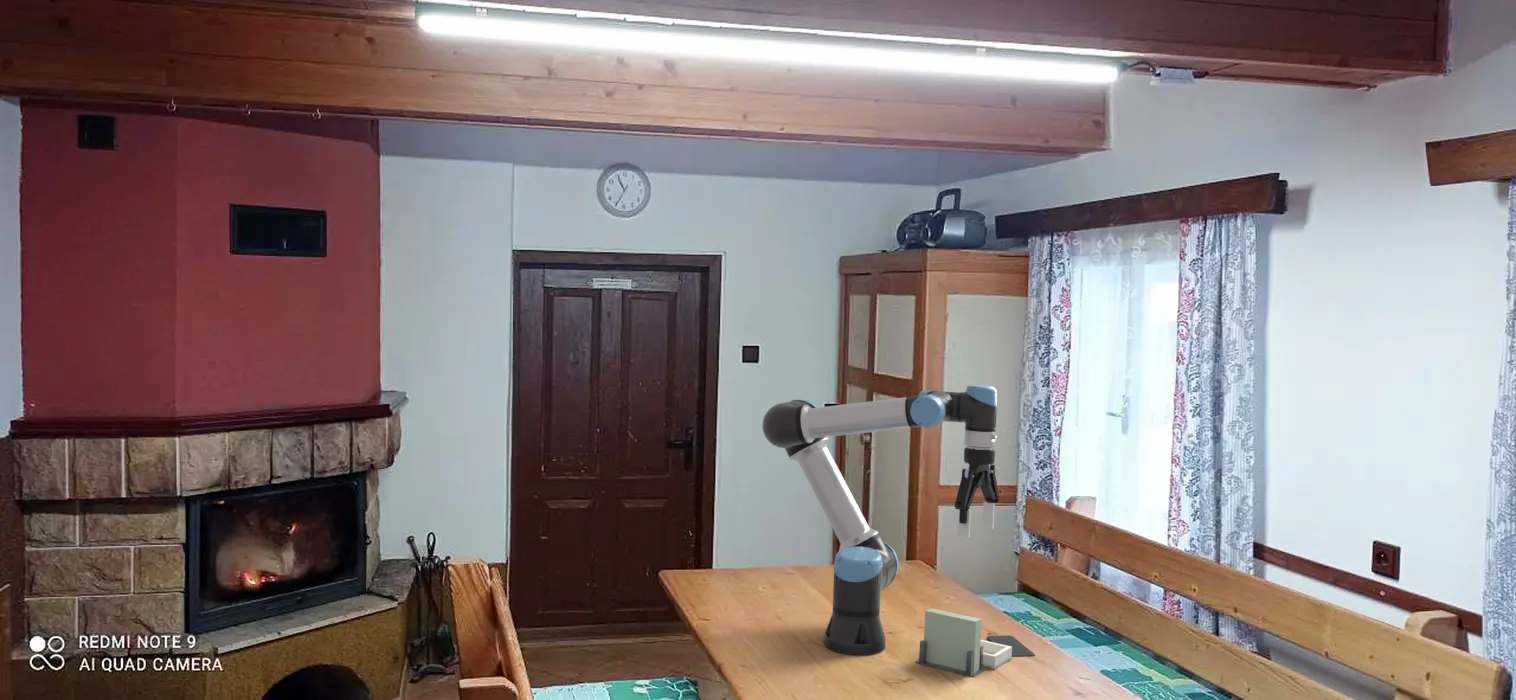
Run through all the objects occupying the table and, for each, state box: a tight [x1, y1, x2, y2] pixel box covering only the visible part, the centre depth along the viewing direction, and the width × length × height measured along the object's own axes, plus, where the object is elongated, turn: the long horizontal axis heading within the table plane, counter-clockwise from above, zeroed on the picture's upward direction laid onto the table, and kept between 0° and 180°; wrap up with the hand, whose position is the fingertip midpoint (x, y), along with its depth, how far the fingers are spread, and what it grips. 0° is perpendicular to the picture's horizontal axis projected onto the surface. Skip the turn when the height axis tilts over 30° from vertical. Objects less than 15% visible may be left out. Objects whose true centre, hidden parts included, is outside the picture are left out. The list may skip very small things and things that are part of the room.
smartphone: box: [986, 634, 1036, 658], centre depth 276 cm, size 7×1×15 cm
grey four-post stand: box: [914, 639, 987, 678], centre depth 259 cm, size 15×7×5 cm, turn 55°
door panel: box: [923, 608, 982, 673], centre depth 259 cm, size 13×4×12 cm, turn 55°
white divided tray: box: [980, 639, 1012, 670], centre depth 267 cm, size 18×10×3 cm, turn 55°
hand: (976, 532), depth 273 cm, fingers open, 13 cm apart
